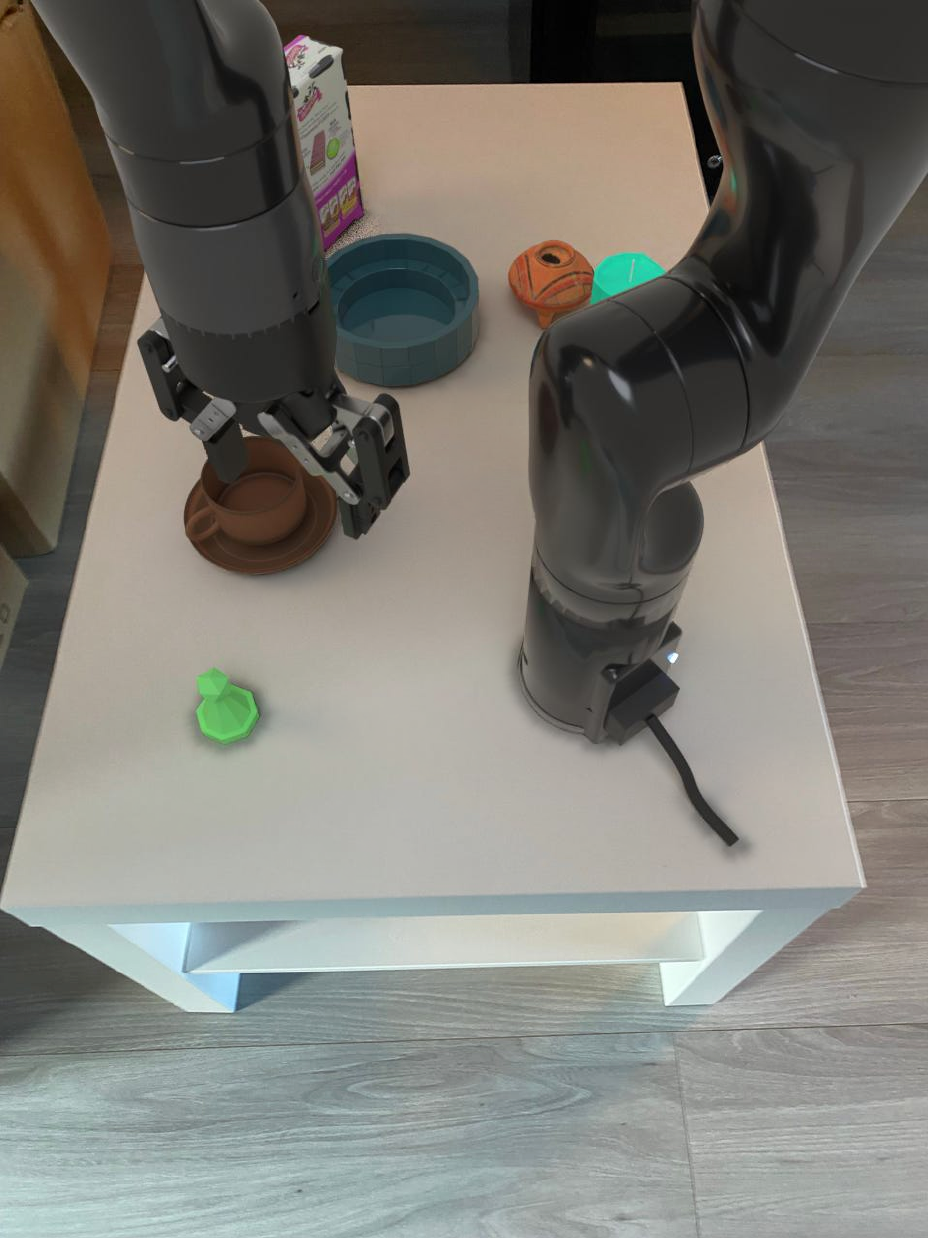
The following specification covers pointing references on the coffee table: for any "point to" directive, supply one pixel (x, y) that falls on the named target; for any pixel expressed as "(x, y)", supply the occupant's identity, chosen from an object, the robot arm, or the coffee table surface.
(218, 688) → the game piece
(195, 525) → the cup and saucer
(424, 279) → the bowl
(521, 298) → the pot
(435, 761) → the coffee table surface
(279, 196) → the robot arm
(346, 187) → the candy bar box
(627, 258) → the candle
